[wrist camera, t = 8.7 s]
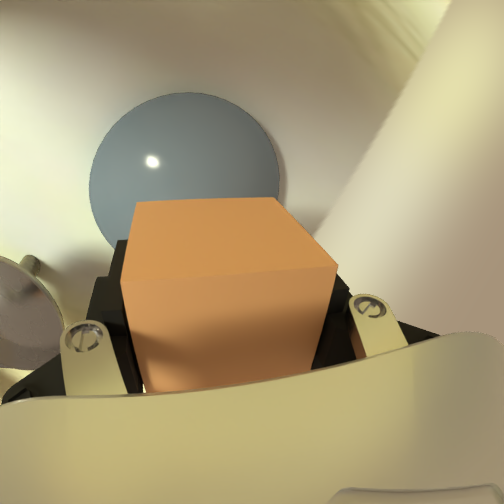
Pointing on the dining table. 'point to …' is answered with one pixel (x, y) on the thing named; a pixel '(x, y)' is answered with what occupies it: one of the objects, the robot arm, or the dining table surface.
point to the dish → (178, 158)
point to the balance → (27, 317)
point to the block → (222, 292)
